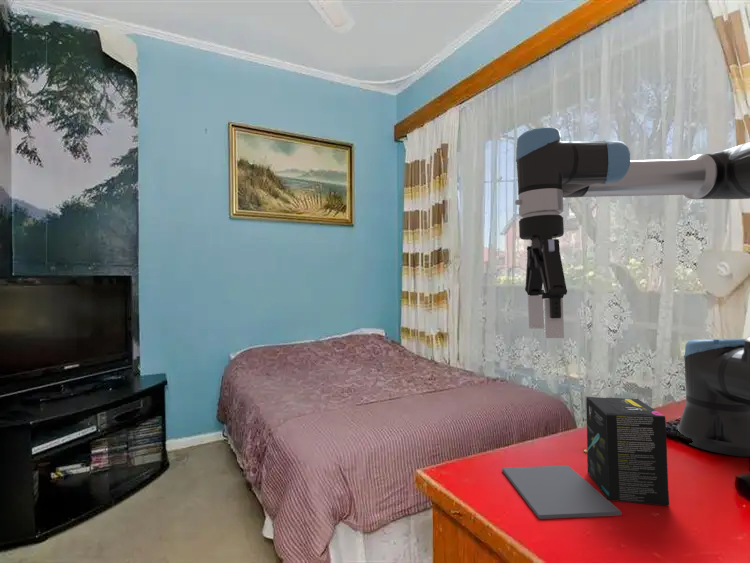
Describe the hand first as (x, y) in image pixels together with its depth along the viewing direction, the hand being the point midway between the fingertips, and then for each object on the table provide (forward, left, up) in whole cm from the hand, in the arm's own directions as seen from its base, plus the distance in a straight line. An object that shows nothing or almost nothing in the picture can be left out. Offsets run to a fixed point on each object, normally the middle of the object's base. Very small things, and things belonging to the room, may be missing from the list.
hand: (544, 332), depth 74 cm
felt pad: (0, +3, -27) cm, 27 cm away
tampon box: (-12, +3, -27) cm, 30 cm away
